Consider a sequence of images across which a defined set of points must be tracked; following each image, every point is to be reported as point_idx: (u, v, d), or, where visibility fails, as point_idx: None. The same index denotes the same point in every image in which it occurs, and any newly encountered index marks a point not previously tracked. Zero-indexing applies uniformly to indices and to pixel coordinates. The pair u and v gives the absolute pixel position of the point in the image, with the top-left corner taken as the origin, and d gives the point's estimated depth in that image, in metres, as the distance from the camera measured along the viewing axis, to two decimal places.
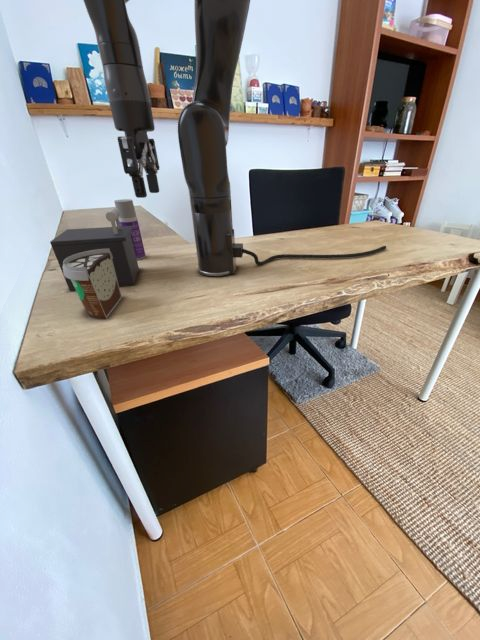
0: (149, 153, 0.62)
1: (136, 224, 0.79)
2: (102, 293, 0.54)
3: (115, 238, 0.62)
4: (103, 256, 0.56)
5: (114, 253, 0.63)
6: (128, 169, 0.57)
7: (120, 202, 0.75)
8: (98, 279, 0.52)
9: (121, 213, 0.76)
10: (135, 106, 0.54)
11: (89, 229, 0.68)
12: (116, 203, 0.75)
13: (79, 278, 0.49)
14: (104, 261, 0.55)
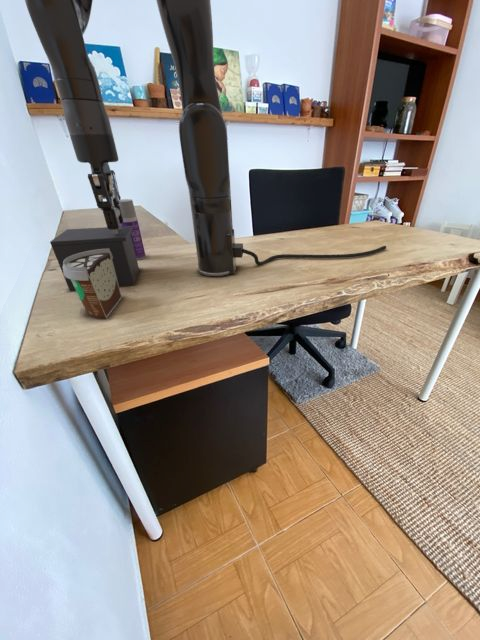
0: (113, 183, 0.62)
1: (136, 224, 0.79)
2: (102, 293, 0.54)
3: (115, 238, 0.62)
4: (103, 256, 0.56)
5: (114, 253, 0.63)
6: (101, 204, 0.58)
7: (120, 202, 0.75)
8: (98, 279, 0.52)
9: None
10: (101, 140, 0.55)
11: (89, 229, 0.68)
12: None
13: (79, 278, 0.49)
14: (104, 261, 0.55)
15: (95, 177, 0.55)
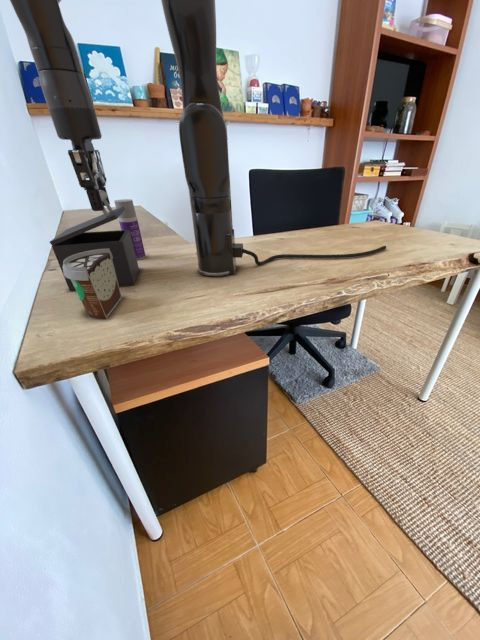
0: (97, 162, 0.60)
1: (136, 224, 0.79)
2: (102, 293, 0.54)
3: (106, 219, 0.59)
4: (103, 256, 0.56)
5: (114, 253, 0.63)
6: (84, 183, 0.55)
7: (120, 202, 0.75)
8: (98, 279, 0.52)
9: None
10: (81, 114, 0.52)
11: (85, 222, 0.67)
12: (116, 203, 0.75)
13: (79, 278, 0.49)
14: (104, 261, 0.55)
15: (76, 153, 0.52)
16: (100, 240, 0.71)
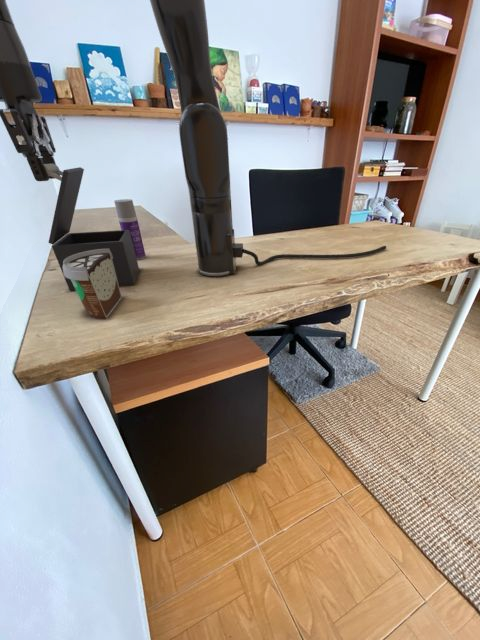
0: (40, 128, 0.55)
1: (136, 224, 0.79)
2: (102, 293, 0.54)
3: (62, 181, 0.55)
4: (103, 256, 0.56)
5: (114, 253, 0.63)
6: (21, 147, 0.50)
7: (120, 202, 0.75)
8: (98, 279, 0.52)
9: (121, 213, 0.76)
10: (12, 69, 0.47)
11: None
12: (116, 203, 0.75)
13: (79, 278, 0.49)
14: (104, 261, 0.55)
15: (7, 113, 0.47)
16: (100, 240, 0.71)
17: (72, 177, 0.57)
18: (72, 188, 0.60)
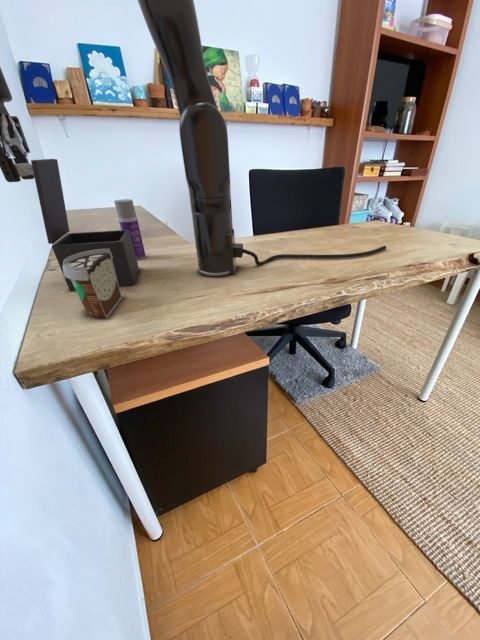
0: (11, 128, 0.54)
1: (136, 224, 0.79)
2: (102, 293, 0.54)
3: (34, 173, 0.53)
4: (103, 256, 0.56)
5: (114, 253, 0.63)
6: None
7: (120, 202, 0.75)
8: (98, 279, 0.52)
9: (121, 213, 0.76)
10: None
11: None
12: (116, 203, 0.75)
13: (79, 278, 0.49)
14: (104, 261, 0.55)
15: None
16: (100, 240, 0.71)
17: (44, 167, 0.56)
18: (50, 181, 0.58)
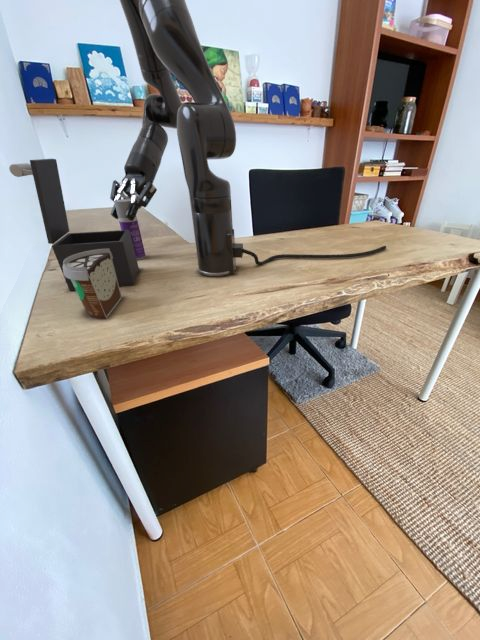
0: None
1: (136, 224, 0.79)
2: (102, 293, 0.54)
3: (33, 173, 0.53)
4: (103, 256, 0.56)
5: (114, 253, 0.63)
6: None
7: (120, 202, 0.75)
8: (98, 279, 0.52)
9: (121, 213, 0.76)
10: None
11: None
12: (116, 203, 0.75)
13: (79, 278, 0.49)
14: (104, 261, 0.55)
15: None
16: (100, 240, 0.71)
17: (43, 167, 0.55)
18: (50, 180, 0.58)
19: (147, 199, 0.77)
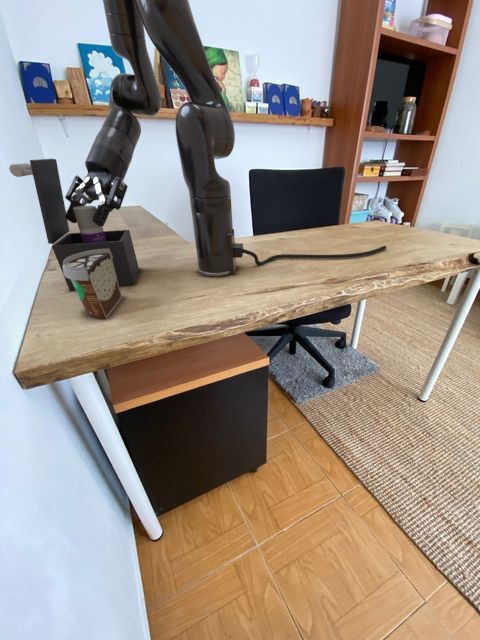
0: None
1: (101, 236, 0.65)
2: (102, 293, 0.54)
3: (33, 173, 0.53)
4: (103, 256, 0.56)
5: (114, 253, 0.63)
6: None
7: (79, 210, 0.61)
8: (98, 279, 0.52)
9: (81, 223, 0.62)
10: None
11: None
12: (75, 211, 0.61)
13: (79, 278, 0.49)
14: (104, 261, 0.55)
15: None
16: None
17: (43, 167, 0.55)
18: (50, 180, 0.58)
19: (119, 199, 0.62)
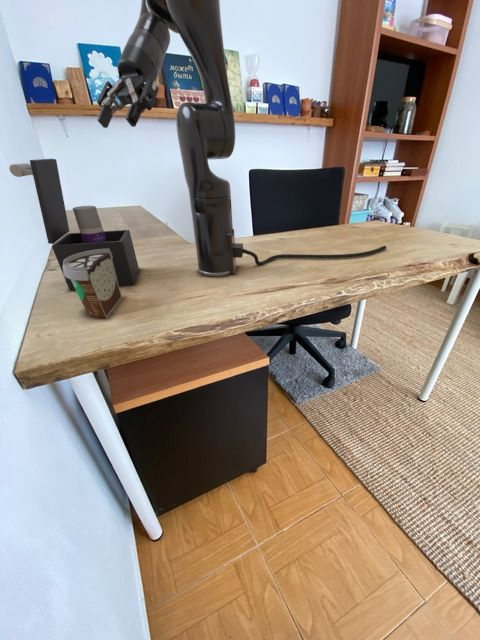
0: None
1: (101, 236, 0.65)
2: (102, 293, 0.54)
3: (33, 173, 0.53)
4: (103, 256, 0.56)
5: (114, 253, 0.63)
6: None
7: (79, 210, 0.61)
8: (98, 279, 0.52)
9: (81, 223, 0.62)
10: None
11: None
12: (75, 211, 0.61)
13: (79, 278, 0.49)
14: (104, 261, 0.55)
15: None
16: None
17: (43, 167, 0.55)
18: (50, 180, 0.58)
19: (151, 100, 0.63)
